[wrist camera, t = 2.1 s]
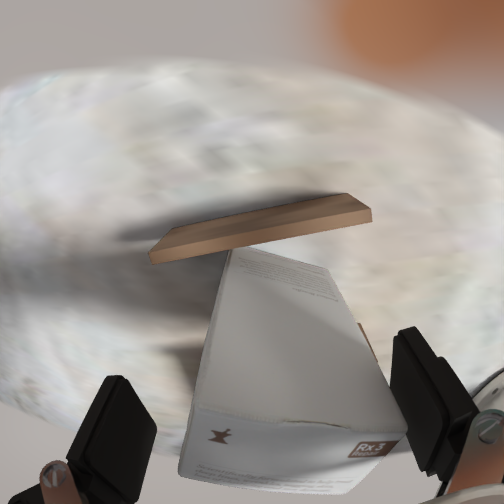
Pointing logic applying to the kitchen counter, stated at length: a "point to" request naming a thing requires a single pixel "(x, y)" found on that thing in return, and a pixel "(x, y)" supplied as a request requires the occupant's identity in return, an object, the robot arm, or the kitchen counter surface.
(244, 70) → the kitchen counter surface
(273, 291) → the skincare box
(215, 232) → the walnut rack
